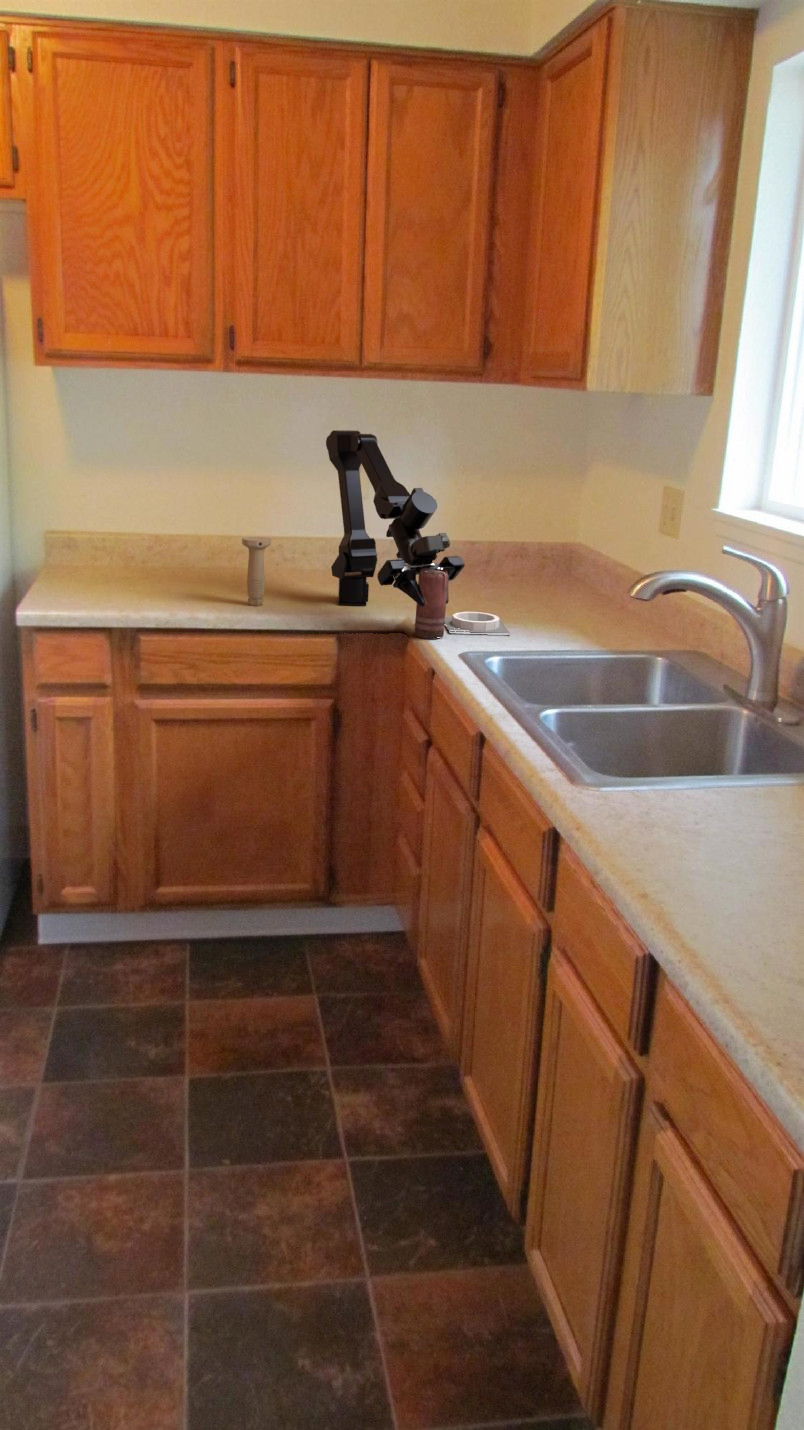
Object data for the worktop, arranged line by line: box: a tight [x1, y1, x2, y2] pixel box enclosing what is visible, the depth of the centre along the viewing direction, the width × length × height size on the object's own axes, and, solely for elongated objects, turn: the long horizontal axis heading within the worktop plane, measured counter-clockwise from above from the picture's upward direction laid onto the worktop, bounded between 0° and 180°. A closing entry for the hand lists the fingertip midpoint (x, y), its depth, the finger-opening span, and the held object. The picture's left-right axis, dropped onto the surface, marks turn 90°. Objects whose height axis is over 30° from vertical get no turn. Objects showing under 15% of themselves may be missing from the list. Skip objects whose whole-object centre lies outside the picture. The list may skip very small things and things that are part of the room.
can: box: [414, 568, 449, 640], centre depth 251 cm, size 6×6×14 cm
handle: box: [241, 536, 272, 607], centre depth 271 cm, size 5×6×15 cm
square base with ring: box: [445, 611, 510, 633], centre depth 262 cm, size 13×13×2 cm
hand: (435, 604), depth 250 cm, fingers closed on can, 5 cm apart
